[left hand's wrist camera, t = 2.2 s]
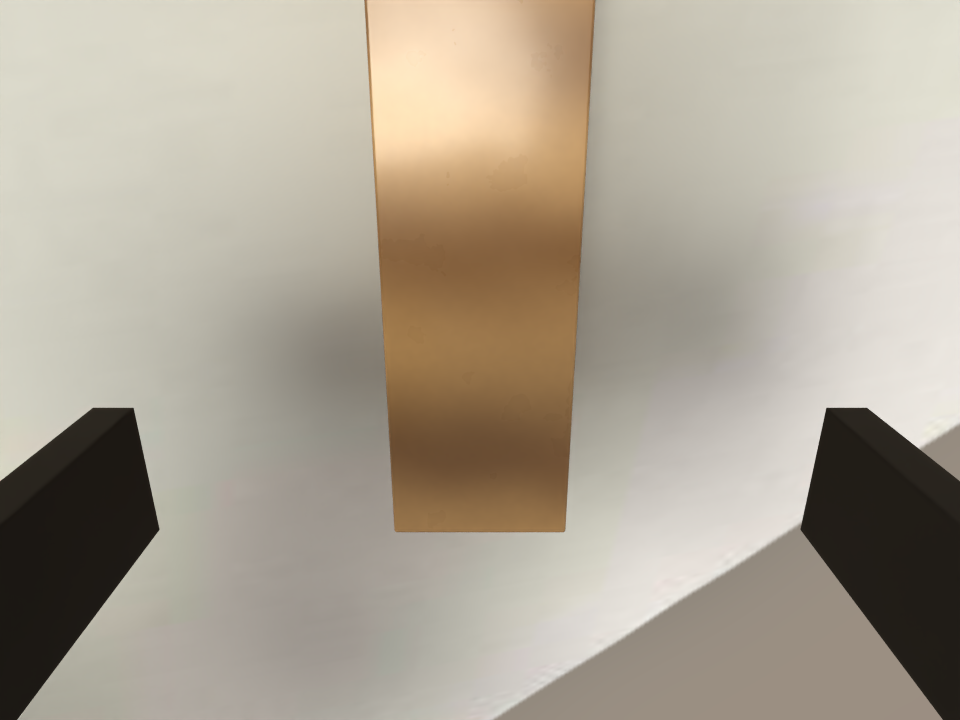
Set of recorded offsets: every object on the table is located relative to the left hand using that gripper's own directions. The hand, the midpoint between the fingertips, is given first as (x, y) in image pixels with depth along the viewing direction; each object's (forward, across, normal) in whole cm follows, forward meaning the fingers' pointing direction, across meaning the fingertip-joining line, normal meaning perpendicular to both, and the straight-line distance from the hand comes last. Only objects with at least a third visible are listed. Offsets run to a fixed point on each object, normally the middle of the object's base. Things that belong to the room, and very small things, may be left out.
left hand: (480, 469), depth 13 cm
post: (+13, 0, -26) cm, 29 cm away
